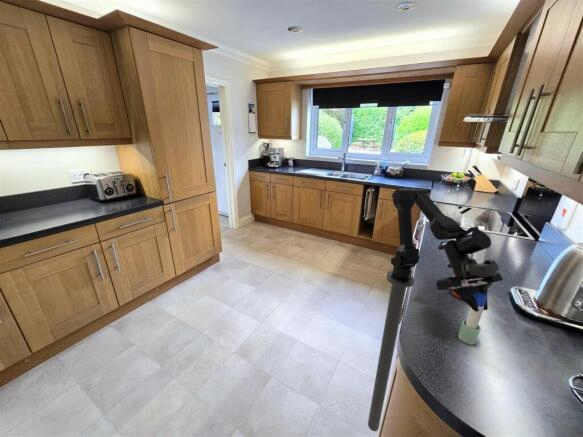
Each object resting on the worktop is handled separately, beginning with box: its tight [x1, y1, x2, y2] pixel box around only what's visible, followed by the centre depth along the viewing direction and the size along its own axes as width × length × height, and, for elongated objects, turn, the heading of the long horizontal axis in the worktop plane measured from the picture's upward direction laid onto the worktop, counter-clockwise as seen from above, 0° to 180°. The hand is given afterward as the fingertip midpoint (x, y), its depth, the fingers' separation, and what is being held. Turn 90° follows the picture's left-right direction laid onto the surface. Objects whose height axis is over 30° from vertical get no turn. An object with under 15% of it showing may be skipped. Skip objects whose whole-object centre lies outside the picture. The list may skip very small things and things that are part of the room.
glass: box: [457, 318, 482, 346], centre depth 75 cm, size 5×5×6 cm
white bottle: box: [468, 225, 488, 263], centre depth 100 cm, size 7×12×25 cm, turn 141°
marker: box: [466, 292, 488, 330], centre depth 72 cm, size 3×3×12 cm
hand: (481, 310), depth 70 cm, fingers closed on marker, 3 cm apart
